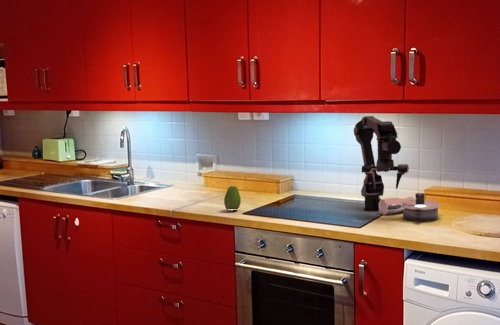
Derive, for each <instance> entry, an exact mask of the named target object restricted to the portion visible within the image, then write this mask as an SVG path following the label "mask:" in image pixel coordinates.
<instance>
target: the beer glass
mask: <svg viewBox="0 0 500 325" xmlns="http://www.w3.org/2000/svg"><path fill="white" fill-rule="evenodd" d="M409 200H416V198H414V197H413V196H408V197H405V198H404V197H403V198H400V197H389V198H384V199H383V198H381V200H380V202H379V212H380V213H381V215H385V216H386V215H394V214H398V213H403V208H402V207H401V203H402V202H404V201H409Z"/></svg>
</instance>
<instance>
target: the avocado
mask: <svg viewBox="0 0 500 325" xmlns="http://www.w3.org/2000/svg"><path fill="white" fill-rule="evenodd" d="M223 201H224V202H223V204H224V207H225V210H227V209H238V208H240V207H241V202H242V200H241V196H240V192H239V189H238V187H237V186H233V185H231V186H228V188H227V190H226V193H225V196H224V200H223ZM238 210H239V209H238Z"/></svg>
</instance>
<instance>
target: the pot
mask: <svg viewBox="0 0 500 325" xmlns="http://www.w3.org/2000/svg"><path fill="white" fill-rule="evenodd" d="M402 219H404V220H405V221H409V222H415V223H416V222H420V223H423V222H424V223H425V222H432V221H436V220H438V219H439V207H438V208H436V209H431V210H410V209H405V208H403V211H402Z"/></svg>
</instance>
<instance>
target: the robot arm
mask: <svg viewBox="0 0 500 325" xmlns="http://www.w3.org/2000/svg"><path fill="white" fill-rule="evenodd" d="M374 134H375V136H376V141H377V160H376V162H375V158H374V157H375V156H374V152H373V151H374V150H373V147H372V140H373V138H374ZM353 135H354V136H355V140H356V142H357V143H358V144H359V145H360V149H361V154H362V160H363V165H362V166H361V173H364V174H365V177H364V179H363V185H362V188H361V190H360V194H361V196H362V197H363V198H364V209H363V211H376V212H377V211H379V212H380V210H379V202H380V200H382V198H381V197H383V195H384V191H385V185H384V183H383V178H382V175H381V174H378V173H381V172H382V173H388V172H389V171H391V172H393V171H397V173H396V181H395V189H396V190H398V187H399V185H400V182H401V179H402V176H403V175H405V174H407V173H408V172H409V171H410V170H409V169H410V168H409V165H408V164H407V163H406V164H405V163H402V164H400V163H399V164H398V165H395V162H394V159H393V155H397V154H398V153H400V151H401V149H402V145H401V143H400V141H398V140H397V139H398V132H397V130H396V127H395V124H394V123H393V122H392V121H388V120H387V121H382V120H381V119H379V118H376V117H375V116H373V115H367V116H363V117H362V118H361V120H360V121H358V122H357V123H355V125H354V128H353Z"/></svg>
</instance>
